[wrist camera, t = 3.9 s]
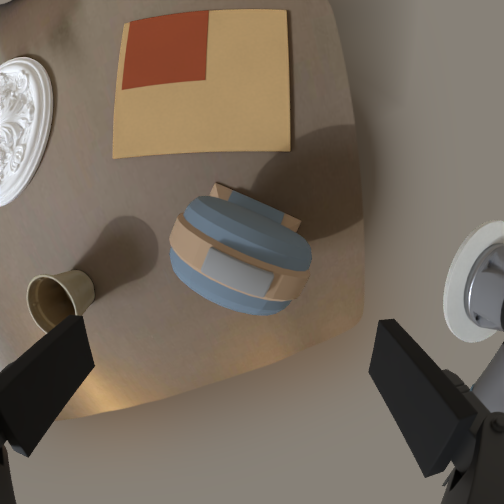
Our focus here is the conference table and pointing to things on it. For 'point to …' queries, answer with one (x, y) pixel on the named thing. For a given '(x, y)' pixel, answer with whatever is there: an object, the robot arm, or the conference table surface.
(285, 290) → the alarm clock
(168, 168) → the conference table surface
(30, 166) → the ceiling medallion
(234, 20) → the mat
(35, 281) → the flower pot
